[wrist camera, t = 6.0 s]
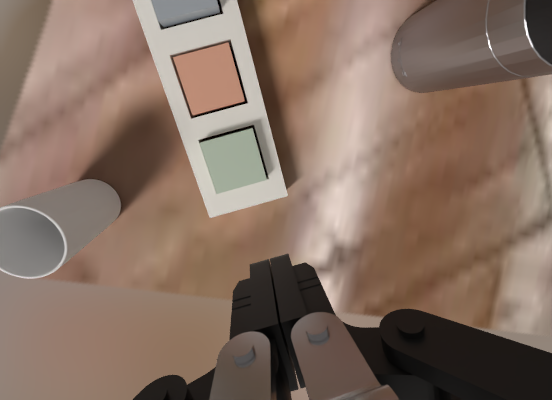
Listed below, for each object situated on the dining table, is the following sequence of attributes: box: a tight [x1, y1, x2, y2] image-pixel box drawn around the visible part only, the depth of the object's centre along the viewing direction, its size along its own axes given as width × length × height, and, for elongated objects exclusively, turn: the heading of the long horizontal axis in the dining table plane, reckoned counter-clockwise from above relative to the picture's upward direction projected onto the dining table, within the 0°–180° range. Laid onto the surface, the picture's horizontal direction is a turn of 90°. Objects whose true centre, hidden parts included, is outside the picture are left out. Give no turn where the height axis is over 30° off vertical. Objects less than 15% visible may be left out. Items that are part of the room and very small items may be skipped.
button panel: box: [133, 0, 288, 218], centre depth 32 cm, size 10×30×2 cm, turn 15°
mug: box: [0, 179, 121, 278], centre depth 30 cm, size 10×7×12 cm, turn 112°
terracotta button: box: [173, 42, 245, 115], centre depth 31 cm, size 6×6×2 cm
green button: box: [200, 128, 267, 194], centre depth 33 cm, size 6×6×2 cm
